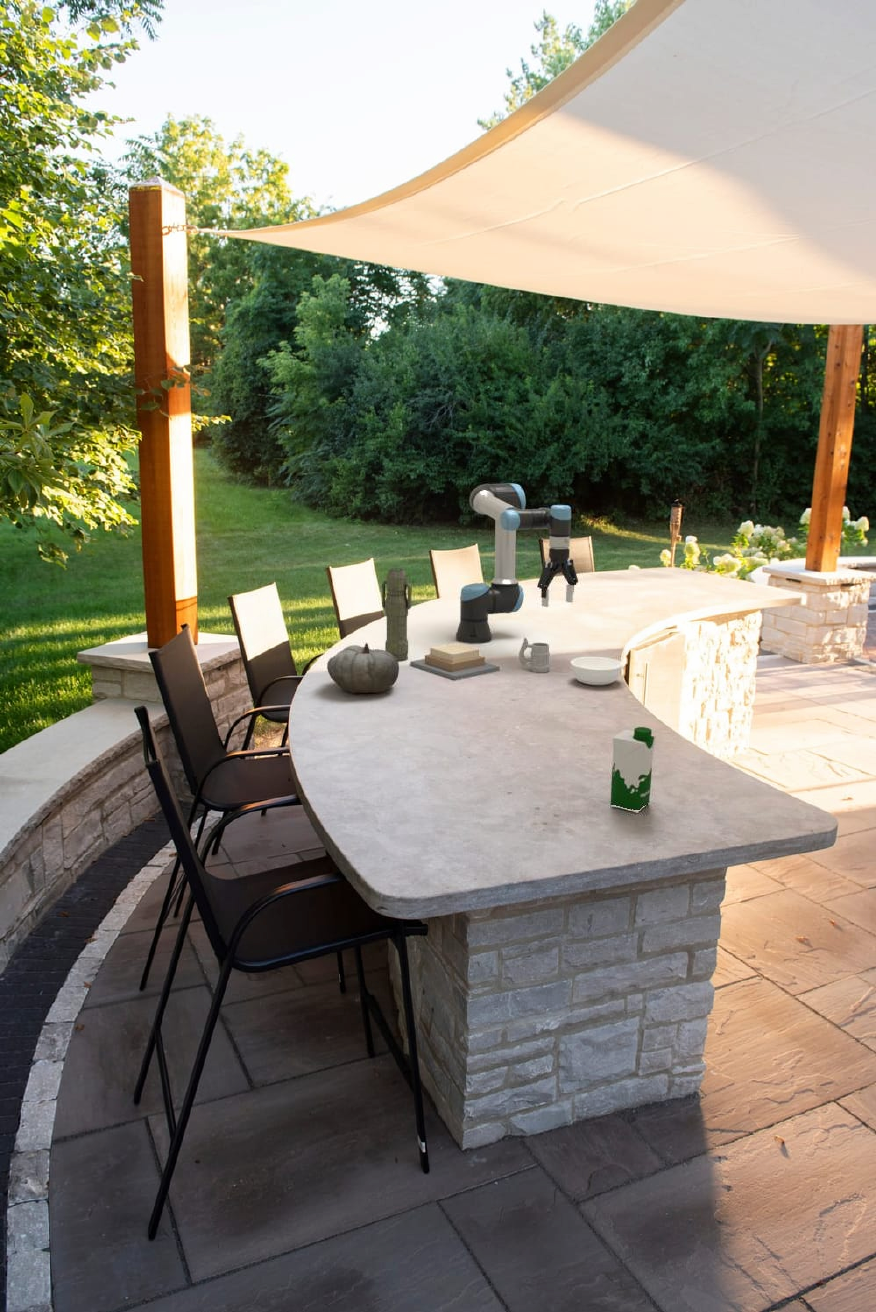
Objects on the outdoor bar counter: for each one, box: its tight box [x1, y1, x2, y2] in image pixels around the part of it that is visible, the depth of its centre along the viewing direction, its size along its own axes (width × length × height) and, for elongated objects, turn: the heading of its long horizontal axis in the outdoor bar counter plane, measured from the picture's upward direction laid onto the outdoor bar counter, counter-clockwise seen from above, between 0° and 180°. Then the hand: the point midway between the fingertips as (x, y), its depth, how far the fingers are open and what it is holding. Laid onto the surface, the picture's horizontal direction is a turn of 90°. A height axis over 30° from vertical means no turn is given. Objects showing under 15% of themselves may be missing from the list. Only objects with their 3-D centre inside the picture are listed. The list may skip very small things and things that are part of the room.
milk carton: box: [610, 726, 656, 810], centre depth 227 cm, size 9×9×20 cm
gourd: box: [326, 642, 400, 694], centre depth 323 cm, size 25×25×17 cm
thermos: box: [381, 568, 413, 663], centre depth 361 cm, size 9×12×35 cm
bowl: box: [570, 656, 623, 686], centre depth 335 cm, size 18×18×7 cm
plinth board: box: [409, 642, 501, 681], centre depth 352 cm, size 26×22×8 cm
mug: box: [518, 637, 551, 674], centre depth 350 cm, size 8×12×12 cm, turn 72°
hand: (557, 604), depth 352 cm, fingers open, 13 cm apart
